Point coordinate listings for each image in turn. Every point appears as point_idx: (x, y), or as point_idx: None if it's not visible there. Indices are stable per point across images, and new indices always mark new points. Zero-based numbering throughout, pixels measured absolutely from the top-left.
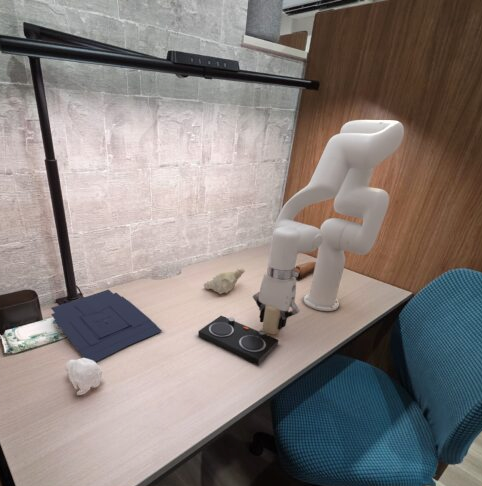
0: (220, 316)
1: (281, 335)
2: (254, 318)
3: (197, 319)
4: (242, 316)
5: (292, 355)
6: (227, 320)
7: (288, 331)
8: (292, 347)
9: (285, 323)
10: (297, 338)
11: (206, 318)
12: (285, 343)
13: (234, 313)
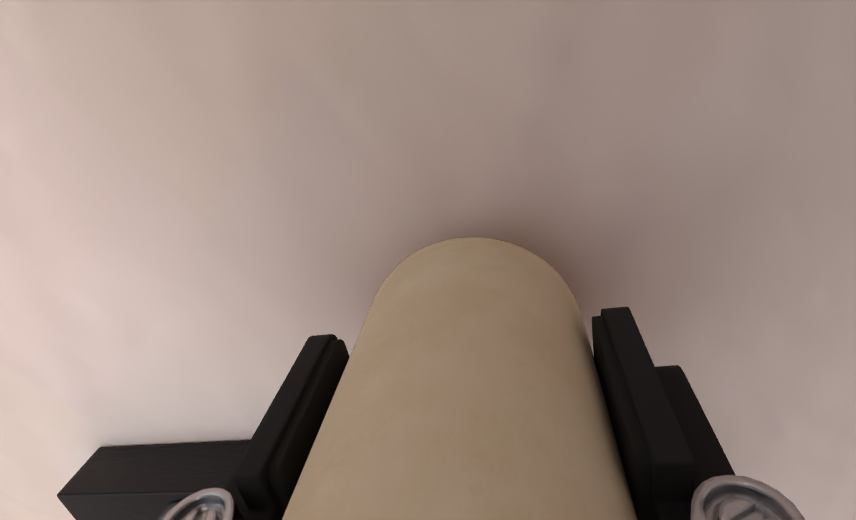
0: (71, 507)
1: (601, 266)
2: (172, 214)
3: (29, 515)
4: (90, 276)
5: (848, 446)
6: (151, 518)
7: (629, 129)
8: (806, 357)
9: (691, 404)
10: (805, 177)
11: (32, 478)
12: (709, 350)
13: (12, 290)
